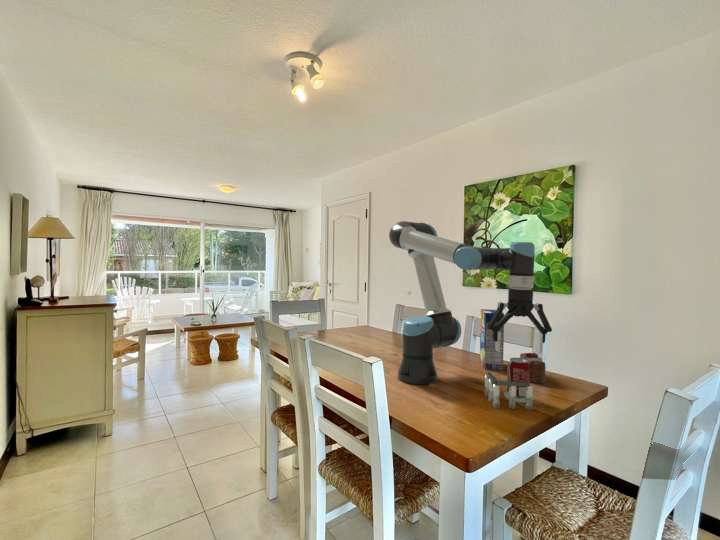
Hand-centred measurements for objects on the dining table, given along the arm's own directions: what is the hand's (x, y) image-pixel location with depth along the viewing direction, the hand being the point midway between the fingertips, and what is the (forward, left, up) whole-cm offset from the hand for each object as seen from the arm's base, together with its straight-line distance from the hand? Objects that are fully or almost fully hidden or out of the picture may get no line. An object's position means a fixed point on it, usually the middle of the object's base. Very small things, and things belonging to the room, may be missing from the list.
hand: (518, 351), depth 120 cm
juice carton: (+2, +37, -16) cm, 40 cm away
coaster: (0, 0, -15) cm, 15 cm away
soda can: (0, 0, -15) cm, 15 cm away
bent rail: (-5, -4, -15) cm, 17 cm away
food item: (+14, +22, -16) cm, 31 cm away
